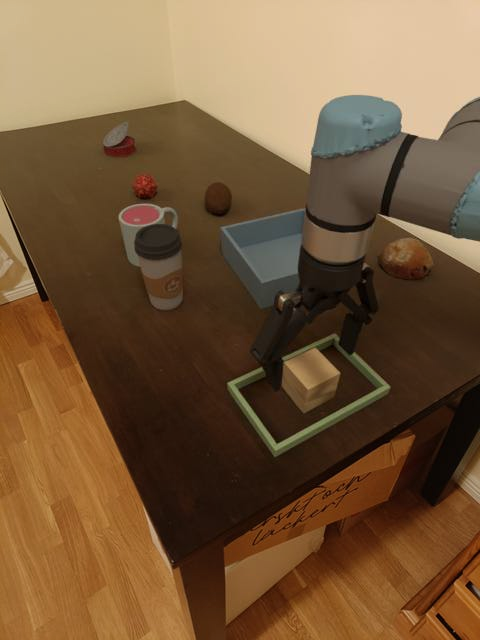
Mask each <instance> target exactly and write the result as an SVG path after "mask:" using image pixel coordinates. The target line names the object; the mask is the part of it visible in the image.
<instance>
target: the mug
mask: <svg viewBox="0 0 480 640" xmlns="http://www.w3.org/2000/svg"><path fill="white" fill-rule="evenodd" d="M167 213H168V214H170V215H171V216H172V225H171V226H172V227H174V228H175V229H176V230H177V228H178V224H179V216H178V214H177V212H176V210H175V209H174V208H172V207H169V206H164V207H160V206H159V205H157V204H154V203H153V204H152V203H136V204H132V205H129V206H126V207H125V208H124V209H122V210H121V211H120V212H119V214H118V221H119V225H120V230H121V234H122V239H123V244H124V248H125V254H126V257H127V261H128V262H129V263H130V264H131V265H133V266H135V267H139V268H141V266H140V263H139V259H138V256H137V253H136V252H135V249H134V247H135V246H134V241H135V236H136V233H137V232H138V231H139V230H140V229H141V228H143V227H145V226H149V225H153V224H166V218H165V214H167Z"/></svg>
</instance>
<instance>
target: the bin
mask: <svg viewBox="0 0 480 640" xmlns="http://www.w3.org/2000/svg"><path fill="white" fill-rule="evenodd" d="M305 208H306V207H305ZM305 208H304V207H303V208H299V209H298V208H297V209H295V210H290V211H286V212H282V213H276V214H273V215H267V216H264V217H259V218H254V219H251V220H246V221H241V222H238V223H234V224H229V225H225V226H220V230H219V231H220V251H221V252H220V253H221V254H222V256H223V257H224V259H225V260H226V261H227V263H228V265H229V266H230V267H231V270H232V271H234V274H235V275H236V276H237V278H238V279H239V280H240V282H241V284H242V285H243V286H244V287H245V289H246V290H247V292H248V293H249V295H250V296H251V297H252V299H253V300H254V302H255V303H256V305H257V306H258V308H259V309H260V310H264V309H266V308H270V307H273V304H274V299H275V295H276V293H277V292H278V291H283V292H284V293H285V294H289V293H293V292H295V290H296V289H297V287H298V285H299V282H300V281H299V275H298V261H299V253H300V246H301V244H302V240H301V239H302V231H303V223H304V215H305Z"/></svg>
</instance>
